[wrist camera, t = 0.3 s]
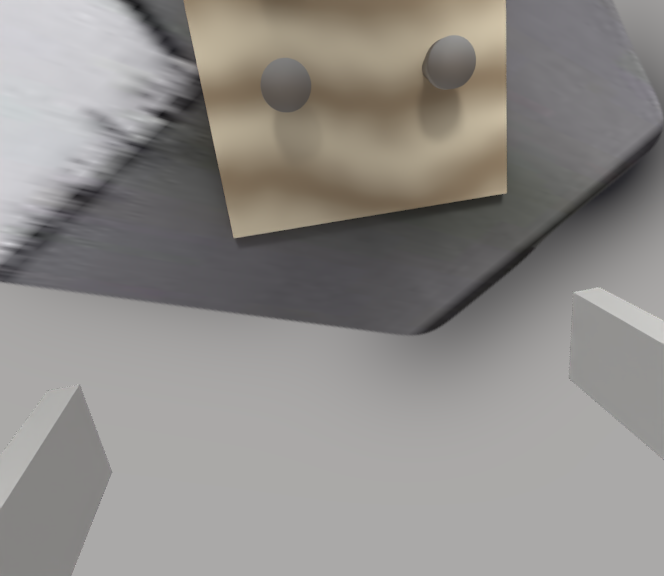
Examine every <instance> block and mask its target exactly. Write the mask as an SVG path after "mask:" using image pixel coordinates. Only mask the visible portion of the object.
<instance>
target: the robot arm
mask: <svg viewBox="0 0 664 576" xmlns="http://www.w3.org/2000/svg"><path fill="white" fill-rule="evenodd" d="M569 379H570V380H571V381H572V382H573V383H574V384H576V385H577V386H578V387H579V388H580V389H582V390H583V391H584V392H585V393H586V394H587V395H589V396H590V397H591V398H592V399H593V400H594V401H595V402H597V403H598V404H599V405H600V406H601V407H603V408H604V409H605V410H606V411H607V412H608V413H610V414H611V415H612V416H613V417H614V418H615V419H616V420H618V421H619V422H620V423H621V424H622V425H624V426H625V427H626V428H627V429H628V430H629V431H630V432H632V433H633V434H634V435H635V436H636V437H638V438H639V439H640V440H641V441H642V442H643V443H644V444H646V445H647V446H648V447H649V448H650V449H651V450H653V451H654V452H655V453H656V454H657V455H658V456H660V457H661V458H662V459H663V460H664V321H663V320H662V319H660V318H658V317H656V316H654V315H652V314H650V313H648V312H646V311H644V310H642V309H640V308H638V307H636V306H635V305H633V304H631V303H629V302H627V301H625V300H623V299H621V298H619V297H617V296H615V295H613V294H611V293H609V292H607V291H606V290H604V289H602V288H600V287H598V288H593V289H588V290H582V291H577V292H573V307H572V327H571V347H570V367H569ZM111 473H112V470H111V468H110V465H109V462H108V460H107V457H106V454H105V452H104V449H103V446H102V444H101V441H100V438H99V435H98V433H97V430H96V427H95V425H94V422H93V419H92V416H91V414H90V412H89V409H88V406H87V403H86V400H85V398H84V395H83V392H82V389H81V387H80V385H74V386H69V387H64V388H58V389H53V390H48V391H47V392H46V394H45V395H44V396H43V398H42V399H41V400H40V402H39V403H38V404H37V406H36V407H35V409H34V410H33V411H32V413H31V414H30V415H29V417H28V418H27V419H26V421H25V422H24V424H23V425H22V426H21V428H20V429H19V430H18V432H17V433H16V434H15V436H14V437H13V439H12V440H11V441H10V443H9V444H8V445H7V447H6V448H5V449H4V451H3V452H2V453H1V455H0V576H71V575H72V572H73V570H74V567H75V565H76V562H77V559H78V557H79V555H80V552H81V549H82V547H83V545H84V542H85V539H86V537H87V534H88V532H89V529H90V527H91V524H92V522H93V519H94V516H95V514H96V512H97V509H98V506H99V504H100V501H101V499H102V496H103V494H104V491H105V489H106V486H107V483H108V481H109V478H110V476H111Z"/></svg>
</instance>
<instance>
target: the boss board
mask: <svg viewBox="0 0 664 576" xmlns="http://www.w3.org/2000/svg"><path fill="white" fill-rule="evenodd" d="M184 5H185V10H186V15H187V19H188V24H189V29H190V34H191V38H192V43H193V48H194V53H195V57H196V62H197V67H198V71H199V76H200V81H201V86H202V90H203V95H204V100H205V105H206V109H207V114H208V119H209V124H210V128H211V133H212V138H213V142H214V147H215V152H216V157H217V161H218V166H219V171H220V176H221V180H222V185H223V190H224V195H225V199H226V204H227V209H228V213H229V218H230V223H231V228H232V232H233V237H234V238H239V237H245V236H251V235H257V234H263V233H269V232H275V231H281V230H288V229H294V228H300V227H306V226H312V225H318V224H324V223H330V222H336V221H342V220H348V219H354V218H360V217H366V216H372V215H378V214H384V213H390V212H396V211H402V210H408V209H414V208H420V207H426V206H432V205H438V204H444V203H451V202H457V201H463V200H469V199H475V198H481V197H487V196H493V195H499V194H505V193H507V122H506V0H184Z"/></svg>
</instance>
